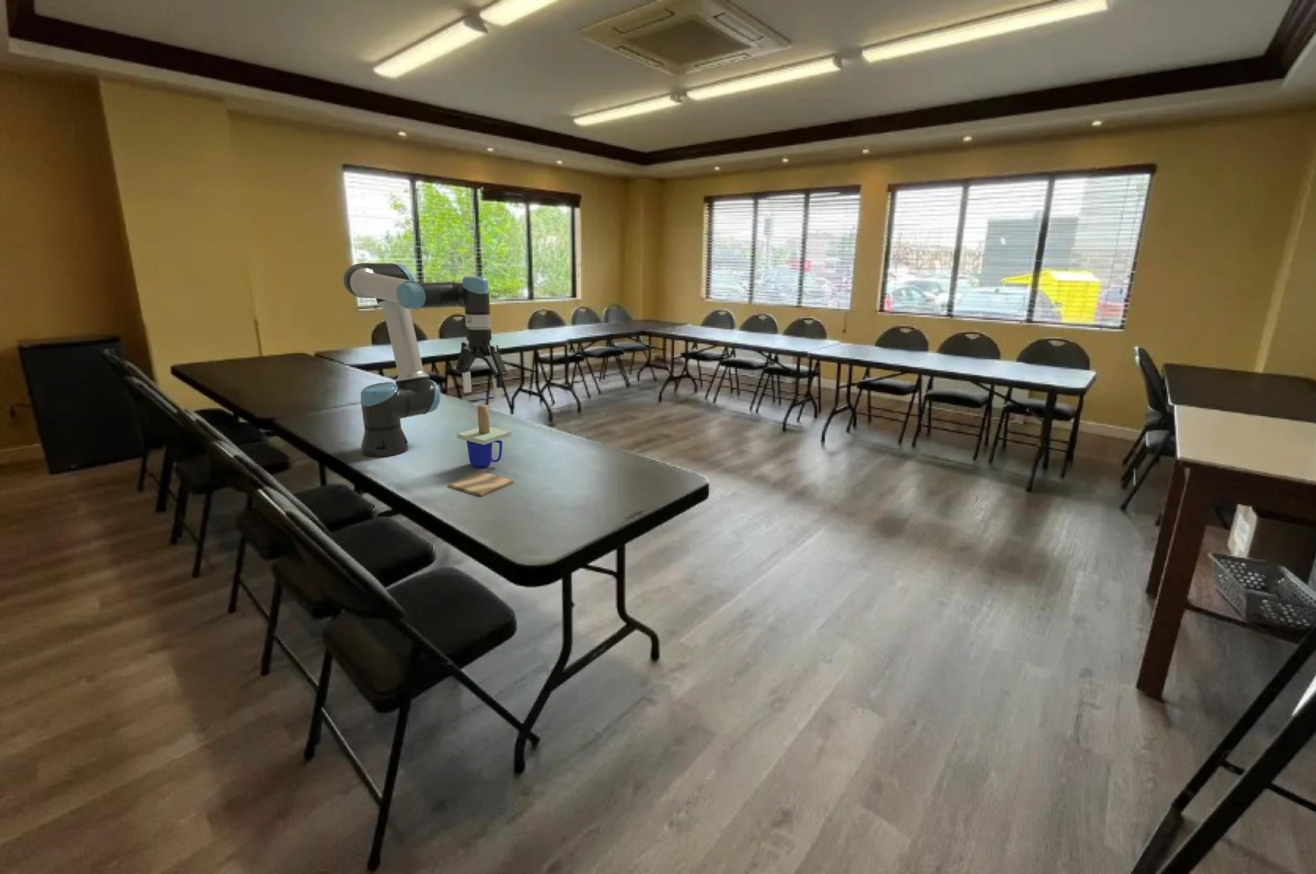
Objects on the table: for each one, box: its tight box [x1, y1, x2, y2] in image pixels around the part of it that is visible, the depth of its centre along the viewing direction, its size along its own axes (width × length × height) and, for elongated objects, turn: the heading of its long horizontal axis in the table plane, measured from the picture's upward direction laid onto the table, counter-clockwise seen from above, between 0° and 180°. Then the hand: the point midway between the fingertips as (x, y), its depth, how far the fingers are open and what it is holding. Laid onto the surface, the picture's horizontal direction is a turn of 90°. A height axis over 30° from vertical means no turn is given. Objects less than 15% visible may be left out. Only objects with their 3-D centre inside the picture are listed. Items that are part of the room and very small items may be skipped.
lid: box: [456, 404, 512, 445], centre depth 187 cm, size 12×12×10 cm
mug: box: [466, 439, 503, 468], centre depth 190 cm, size 8×12×10 cm
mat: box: [448, 471, 515, 497], centre depth 175 cm, size 14×13×1 cm
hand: (482, 394), depth 185 cm, fingers open, 13 cm apart
